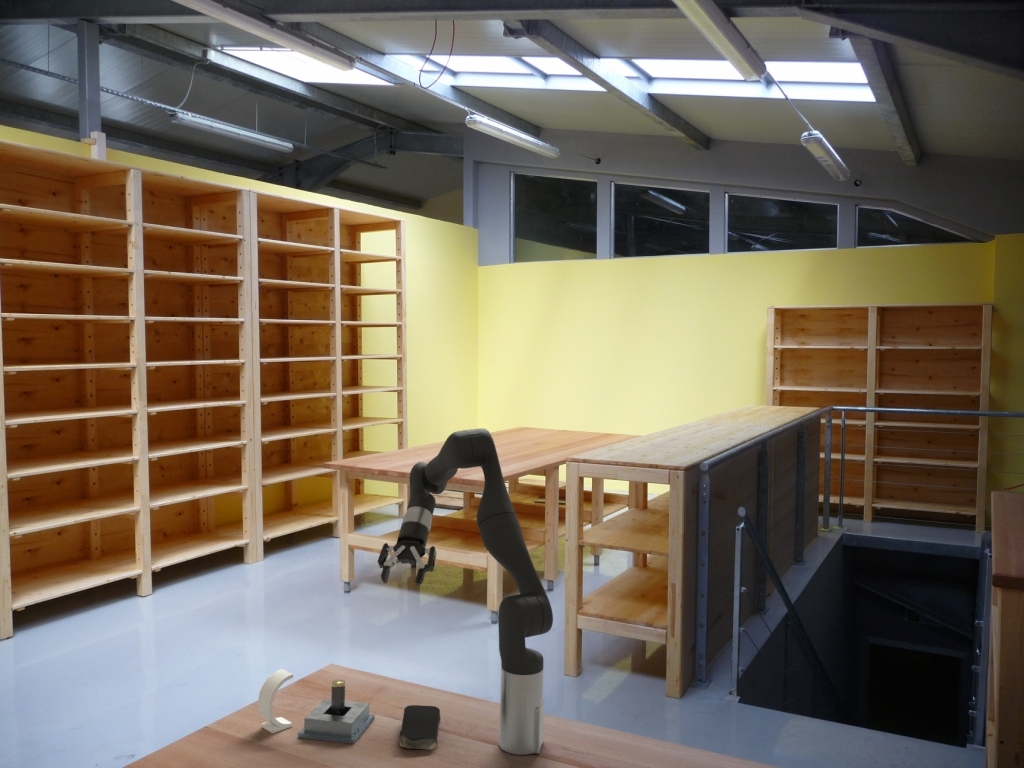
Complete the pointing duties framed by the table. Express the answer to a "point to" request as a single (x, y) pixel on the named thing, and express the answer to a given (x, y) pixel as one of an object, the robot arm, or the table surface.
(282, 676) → the headphone stand
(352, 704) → the square hole socket
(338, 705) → the brass pin
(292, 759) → the table surface
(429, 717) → the black sponge
